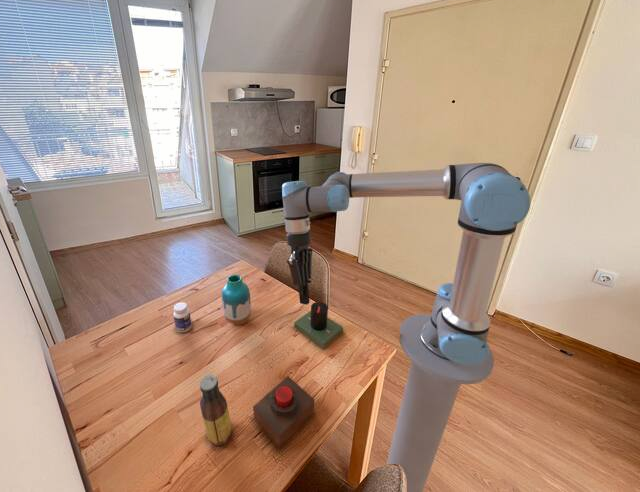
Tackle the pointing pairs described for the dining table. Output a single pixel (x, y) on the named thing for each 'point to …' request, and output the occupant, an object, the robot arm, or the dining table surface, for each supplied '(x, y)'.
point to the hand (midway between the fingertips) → (304, 302)
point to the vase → (236, 300)
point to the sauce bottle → (214, 411)
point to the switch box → (283, 413)
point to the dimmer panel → (318, 337)
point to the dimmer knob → (319, 316)
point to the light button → (283, 396)
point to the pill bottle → (182, 317)
